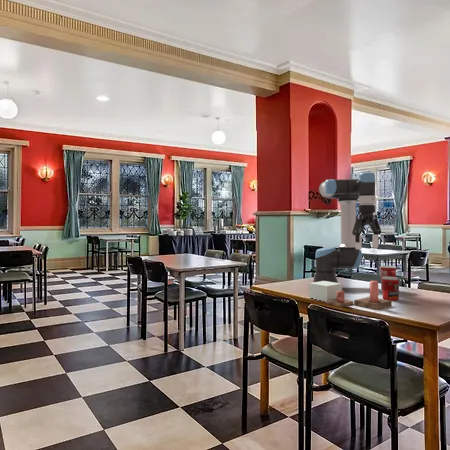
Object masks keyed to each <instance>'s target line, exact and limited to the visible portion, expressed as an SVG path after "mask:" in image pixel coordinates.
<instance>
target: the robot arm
mask: <svg viewBox="0 0 450 450" xmlns="http://www.w3.org/2000/svg"><path fill="white" fill-rule="evenodd" d="M376 181H377V180H376V175H375V173H374V172H362V173H361V172H360V173H359V174H358V178H353V179H351V178H350V179H349V178H348V179H344V178H343V179H340V178H339V179H335V178H333V179H325V181H323V182H321V183H320V185H319V186H318V193H319V194H320V195H321V196H322V197H323V198H327V199H331V200H337V203H338V204H340V245H338V249H336V247H334V246H331V247H330V246H329V247H322V248H318V249H316V251H315V273H314V277H313V281H312V283H313V282H320V281H328V282H335V283H339V281H338V276H337V275H336V270H337V269H339V270H340V269H341V270H353V269H354V270H355V269H359V268H360V266H361V264H362V257H363V255H362V254H363V253H362V241H363V240H362V235H361V234H362V232H363V230H364V229H365V227H366V225H368V226H369V227H370V230H371V231H372V233H373V234H372V235H371V237H372V240H371V241H372V242H371V243H372V245H371V246H372V248H375V249H378V248H379V235H381V234H382V229H381V225H380V223H379V219H378V214H375V213H376V205H375V204H376ZM357 203H358V204H359V206H358V213H359V214H356V204H357Z"/></svg>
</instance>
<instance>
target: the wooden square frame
mask: <svg viewBox="0 0 450 450" xmlns="http://www.w3.org/2000/svg"><path fill="white" fill-rule="evenodd" d="M392 304H393V301H390V300H384V299H383V298H379V297H378V303H372V302H370V296H365V297H361V298H356V299H353V306H357V307H360V308H367V309H371V310H375V311H376V310H377V311H378V310H382V309H385V308H391V307H392Z"/></svg>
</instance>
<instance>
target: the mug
mask: <svg viewBox="0 0 450 450" xmlns="http://www.w3.org/2000/svg"><path fill="white" fill-rule="evenodd" d="M379 272H380V273H379V274H380V288H381V291H383V284H382V280H383V277H397V266H395V265H393V266H392V265H380V266H379Z"/></svg>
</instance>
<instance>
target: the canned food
mask: <svg viewBox="0 0 450 450" xmlns="http://www.w3.org/2000/svg"><path fill="white" fill-rule="evenodd" d="M399 278H400V277H398V276H396V277H383V280H382V284H383V290H382V299H384V300H390V301H392V302H395V301H399V299H400V279H399Z"/></svg>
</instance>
